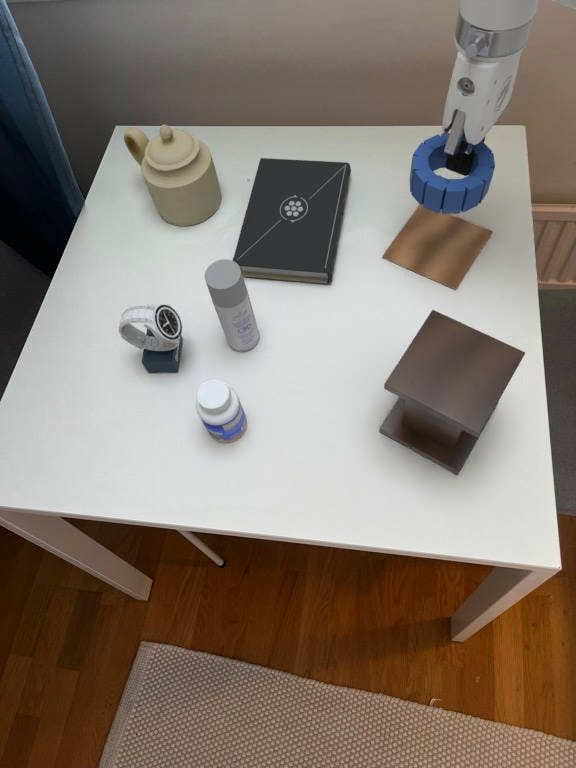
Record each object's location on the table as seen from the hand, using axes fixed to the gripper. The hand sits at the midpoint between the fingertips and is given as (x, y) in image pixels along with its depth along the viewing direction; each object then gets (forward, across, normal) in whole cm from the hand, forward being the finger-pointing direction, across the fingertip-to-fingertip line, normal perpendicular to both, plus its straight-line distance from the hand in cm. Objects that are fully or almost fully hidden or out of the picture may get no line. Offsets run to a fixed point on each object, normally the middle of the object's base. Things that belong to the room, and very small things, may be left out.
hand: (462, 162), depth 77 cm
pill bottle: (+13, -44, +10) cm, 47 cm away
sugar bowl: (+13, -16, +41) cm, 46 cm away
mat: (+12, -4, 0) cm, 13 cm away
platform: (+12, -29, -13) cm, 34 cm away
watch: (+13, -40, +24) cm, 48 cm away
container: (+13, -32, +16) cm, 38 cm away
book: (+13, -11, +21) cm, 27 cm away
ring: (+1, -4, 0) cm, 4 cm away
